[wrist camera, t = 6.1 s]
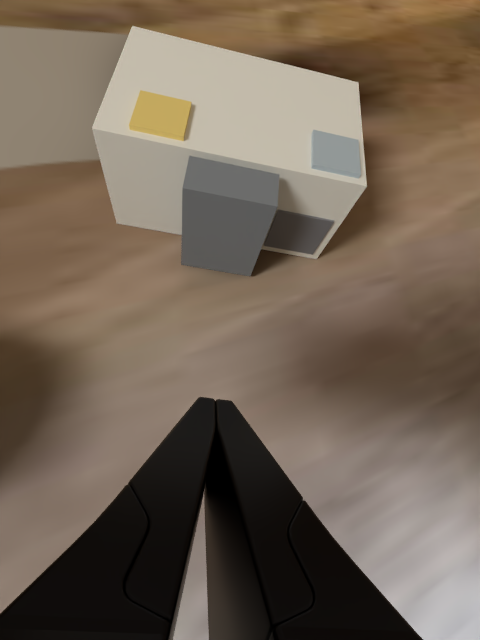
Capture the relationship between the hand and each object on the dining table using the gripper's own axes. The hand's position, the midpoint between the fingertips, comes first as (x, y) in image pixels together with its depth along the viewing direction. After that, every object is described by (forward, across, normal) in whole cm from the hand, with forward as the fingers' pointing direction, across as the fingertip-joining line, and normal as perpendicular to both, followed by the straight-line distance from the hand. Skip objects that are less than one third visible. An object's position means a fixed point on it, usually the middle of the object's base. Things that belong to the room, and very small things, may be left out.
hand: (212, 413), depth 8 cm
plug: (+21, 0, -3) cm, 21 cm away
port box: (+23, 0, -5) cm, 24 cm away
